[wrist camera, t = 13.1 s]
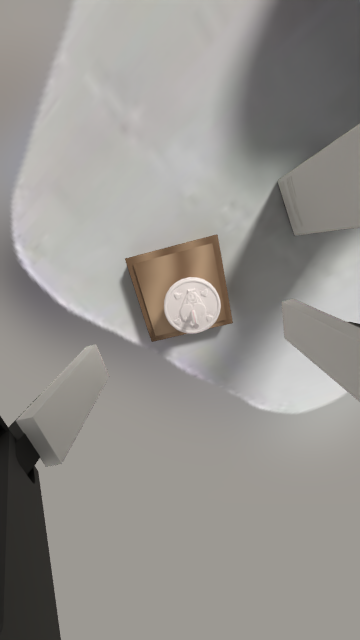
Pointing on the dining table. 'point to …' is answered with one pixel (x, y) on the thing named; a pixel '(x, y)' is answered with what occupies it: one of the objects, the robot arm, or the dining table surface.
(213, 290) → the smoothie
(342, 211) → the supplement box
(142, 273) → the walnut tray
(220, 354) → the dining table surface
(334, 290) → the dining table surface
